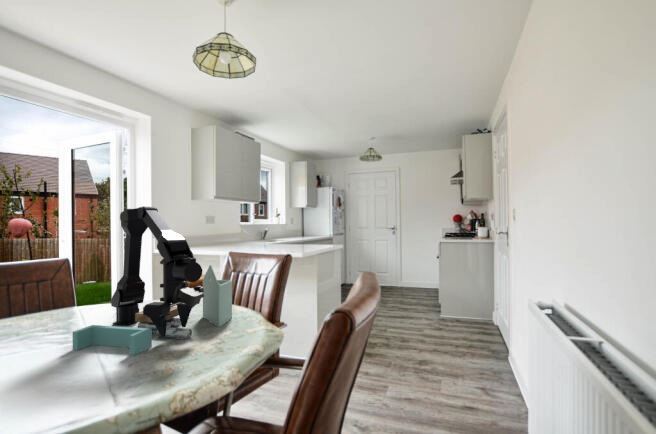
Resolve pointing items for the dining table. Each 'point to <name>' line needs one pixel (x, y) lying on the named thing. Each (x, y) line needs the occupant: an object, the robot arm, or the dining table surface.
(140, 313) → the slab
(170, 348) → the dining table surface
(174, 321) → the roller rear
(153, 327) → the roller front
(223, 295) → the planter
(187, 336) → the roller
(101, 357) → the dining table surface
